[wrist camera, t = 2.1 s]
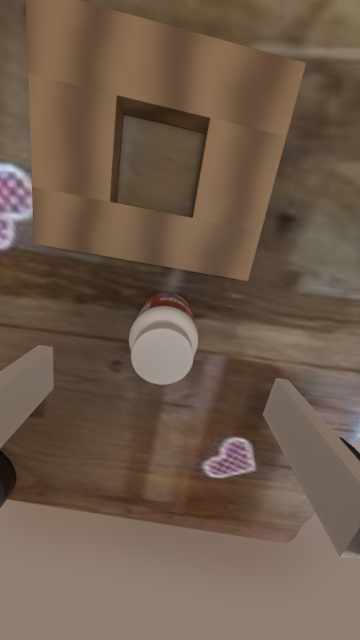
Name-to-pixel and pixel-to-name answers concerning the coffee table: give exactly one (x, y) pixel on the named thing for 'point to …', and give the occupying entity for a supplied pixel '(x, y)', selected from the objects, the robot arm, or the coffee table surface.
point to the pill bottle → (163, 339)
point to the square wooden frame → (160, 106)
